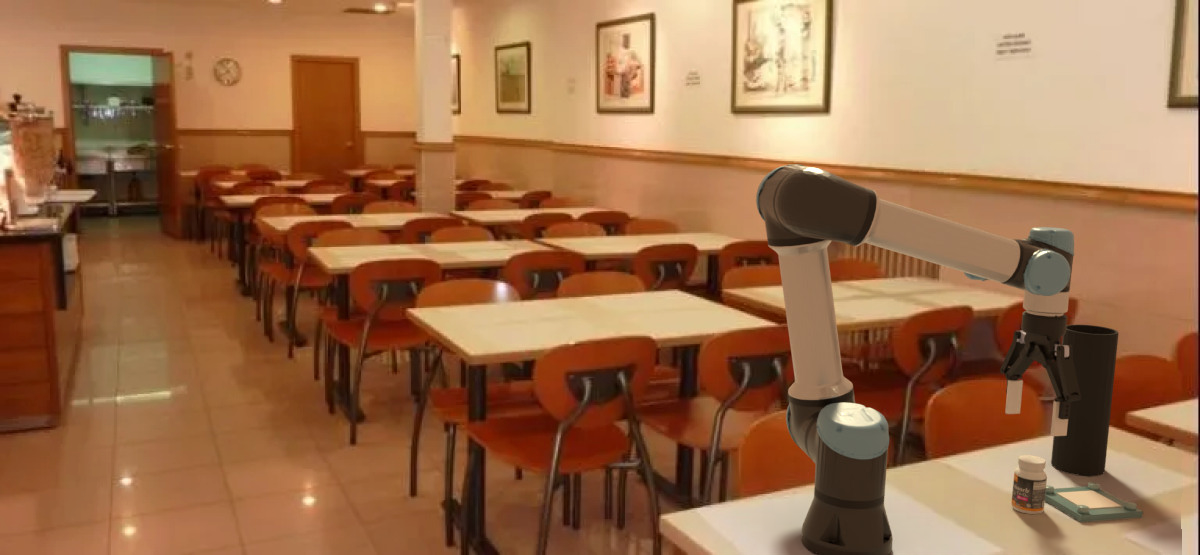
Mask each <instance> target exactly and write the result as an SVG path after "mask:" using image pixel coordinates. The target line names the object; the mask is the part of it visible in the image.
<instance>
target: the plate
mask: <svg viewBox="0 0 1200 555" xmlns="http://www.w3.org/2000/svg"><path fill="white" fill-rule="evenodd" d="M1045 502H1046V503H1047V504H1049V505H1051V506H1052V507H1055V508H1056V509H1058V510H1059V511H1061V512H1063V513H1064V514H1066V515H1068V516H1070V517H1071V518H1073V519H1074V520H1076V521H1078V522H1080V523H1084V522H1085V523H1086V522H1098V521H1099V522H1100V521H1111V520H1114V521H1115V520H1124V519H1125V520H1127V519H1139V518H1141V519H1142V518H1143V513H1144V511H1143V510H1141V509H1139V508H1138V507H1137V503H1136V502H1132V501H1125V500H1122V499H1120V498H1118V497H1117V496H1114V495H1113V494H1111V493H1109V492H1108V491H1106V490H1103V489H1102V488H1100V484H1099V483H1098V482H1097V483H1096V482H1088V484H1087V486H1076V487H1075V486H1074V487H1058V488H1055V487H1054V486H1052V485H1049V484H1048V485H1047V484H1046V492H1045Z"/></svg>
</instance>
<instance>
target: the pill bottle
mask: <svg viewBox="0 0 1200 555" xmlns="http://www.w3.org/2000/svg"><path fill="white" fill-rule="evenodd" d="M1017 463H1018V465H1019V466H1018V467H1016V469H1015V470H1014V474H1013V475H1014V476H1013V484H1012V493H1011V494H1012V495H1011V503H1010V505H1011V507H1012V509H1013V510H1015V511H1017V512H1019V513H1022V514H1027V515H1039V514H1042V513H1043V512H1044V510H1045V502H1046V501H1045V492H1046V485H1047V479H1048V475H1047V473H1046V471H1045V470H1044V469H1045V468H1046V460H1045V459H1044V458H1042V457H1039V456H1036V455H1030V454H1024V455H1020V456H1019V457H1018V460H1017Z"/></svg>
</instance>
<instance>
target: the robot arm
mask: <svg viewBox="0 0 1200 555" xmlns="http://www.w3.org/2000/svg"><path fill="white" fill-rule="evenodd" d="M755 198H756V199H755V202H756V203H755V204H756V208H757V212H758V214H759V215H760V218H761V219H762V220H763V221H764V225H765V231H766V239H767V240H766V241H767V246H768V247H769V248H770V249H771V250H773V251H774V252H775V253H776V254H777V255H778V263H779V272H780V278H781V287H782V292H783V293H782V294H783V300H784V307H785V308H784V309H785V315H786V317H785V318H786V323H787V329H788V337H789V345H790V352H791V360H792V368H793V374H794V382H793V383H792V384H791V385H790V386H789V388H788V390H787V391H788V392H787V394H788V400H789V401H788V402H789V404H788V406H787V408H786V412H785V423H786V427H787V430H788V433H789V435H790V437H791V439H792V440H793V442H794V443H795V444H796V446H797V447H798V448H799V449H800V450H802V451H803V453H804V454H806V455H807V457H809V459H810V460H811V461H812V462H813V463H814V464H815V469H814V470H815V471H814V472H815V473H814V489H813V490H814V491H813V499H812V500H811V501H812V502H811V503H810V507H809V509H808V511H807V514H806V516H805V518H804V521H803V523H802V526H801V536H800V537H801V542H802V544H803V545H804V547H805V548H807V549H808V550H809V551H810V552H813V553H814V554H815V555H891V553H892V551H893V534H892V529H891V526H890V522H889V518H888V515H887V511H886V508H885V493H886V481H887V467H888V466H887V465H888V455H889V454H888V450H889V445H890V435H889V423H888V421H887V418H886V417H885V416H884V415H883V414H882V413H881V412H880V411H878V410H876V409H874V408H872V407H866V405H864V404H861V403H856V400H855V392H854V385H853V382H851V381H850V380H849V379H848V378H846V377H845V376H844V373H843V366H842V358H841V357H842V356H841V349H840V341H839V335H838V334H839V333H838V326H837V317H836V310H835V309H836V308H835V302H834V295H833V294H834V292H833V285H832V278H831V271H830V270H831V269H830V262H829V261H830V260H829V254H828V247H829V245H830V244H831V243H832V242H838V243H842V244H846V245H849V246H853V247H859V246H861V245H863V244H868V245H871V246H875V247H878V248H882V249H884V250H889V251H892V252H895V253H898V254H902V255H905V256H909V257H912V258H915V259H919V260H921V261H925V262H928V263H931V264H935V265H939V266H943V267H946V268H949V269H953V270H956V271H959V272H961V273H963V274H964V276H965V277H966V278H967V279H969V280H974V281H982V282H985V281H993V282H996V283H1000V284H1003V285H1005V286H1009V287H1013V288H1016V289H1018V290H1022V291H1024V292H1023V300H1022V301H1023V302H1022V308H1023V309H1024V310H1025V311H1023V312H1022V317H1021V326H1020V328H1021V330H1015V331H1014V332H1013V337H1012V341H1011V344H1010V346H1009V349H1008V351H1007V353H1006V355H1005V357H1004V360H1003V362H1002V364H1001V367H1000V369H999V372H1000V374H1004V375H1005V379H1006V391H1005V392H1006V398H1005V399H1006V401H1005V410H1004V411H1005V412H1004V413H1005V414H1006V415H1016V414H1021V408H1022V407H1021V405H1022V395H1023V394H1022V393H1023V384H1024V381H1023V379H1024V378H1023V375H1024V374H1025V372H1026V371H1027V370H1028V369H1029V367H1030V366H1031V365H1032V363H1033V362H1034V361H1036V362H1037V363H1038V364H1041V365H1042V367H1043V368H1044V369H1045V370H1046V373H1047V375H1048V377H1049V380H1050V384H1051V385H1052V388H1053V391H1054V393H1055V396H1056V398H1055V399H1053V405H1052V414H1051V416H1052V417H1051V426H1050V436H1052V437H1054V436H1067V426H1068V419H1069V417H1070V409H1071V402H1072V401H1077V400H1081V394H1080V389H1079V385H1078V380H1077V375H1076V371H1075V366H1074V362H1073V347H1072V345H1062V343H1061V338H1062V337H1063V335H1064V334H1065V333H1066V326H1067V325H1068V324H1067V323H1068V315H1066V313H1067V312H1068V310H1069V302H1070V300H1069V298H1070V289H1071V283H1072V282H1071V281H1072V271H1073V264H1074V263H1073V262H1074V256H1075V235H1074V232H1072V231H1071V230H1070V229H1067V228H1062V227H1049V226H1047V227H1046V226H1038V227H1032V228H1031V229H1030V230H1029V231H1030V232H1029V234H1028V236H1027V237H1028V238H1021V239H1018V238H1009V237H1006V236H1002V235H999V234H996V233H992V232H990V231H985V230H983V229H980V228H977V227H974V226H969V225H967V224H963V223H960V222H956V221H953V220H951V219H947V218H944V217H941V216H937V215H933V214H930V213H927V212H925V211H921V210H918V209H914V208H911V207H908V206H904V205H902V204H897V203H895V202H892V201H889V200H885V199H882V198H879V195H878V193H877V191H876V190H874V189H870V188H868V187H867V188H866V187H865V186H862V185H860V184H859V185H858V184H856V183H853V182H852V181H849V180H847V179H844V178H842V177H841V176H838V175H836V174H835V173H831V172H830V171H827V170H825V169H822V168H819V167H814V166H813V167H811V166H806V165H804V164H798V163H796V164H787V165H782V166H778V167H777V168H774V169H773V170H771V171H770V172H768V173H767V174H766V175H765V176H764V177H763V178H762V180H761V182H760V183H759V185H758V187H757V192H756V196H755ZM1063 393H1064V395H1063ZM1072 393H1074V394H1072Z"/></svg>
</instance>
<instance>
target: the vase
mask: <svg viewBox="0 0 1200 555" xmlns="http://www.w3.org/2000/svg"><path fill="white" fill-rule="evenodd" d="M1061 338H1062V340H1061V345H1072V347H1073V362H1074V366H1075V371H1076V375H1077V380H1078V385H1079V389H1080V394H1081V400H1077V401H1072V402H1071V409H1070V417H1069V419H1068V426H1067V436H1052V438H1053V439H1052V449H1051V450H1052V451H1051V460H1050V464H1051V465H1052V467H1053V468H1055V469H1056V470H1059V471H1060V472H1064V473H1067V474H1071V475H1076V476H1083V477H1084V476H1085V477H1093V476H1094V477H1096V476H1099V475H1103V474H1104V473H1105V472H1106V471H1105V470H1106V461H1107V451H1108V443H1109V442H1108V441H1109V433H1110V424H1111V423H1110V421H1111V412H1112V403H1113V402H1112V401H1113V393H1114V392H1113V391H1114V380H1115V373H1116V363H1117V362H1116V361H1117V354H1118V344H1119V343H1118V342H1119V331H1118V330H1116V329H1114V328H1110V327H1106V326H1105V327H1104V326H1100V325H1094V324H1093V325H1092V324H1069V325H1068V324H1067V326H1066V333H1065V334H1064V335H1063V336H1062V337H1061ZM1072 394H1074V393H1072ZM1063 395H1064V393H1063Z"/></svg>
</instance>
